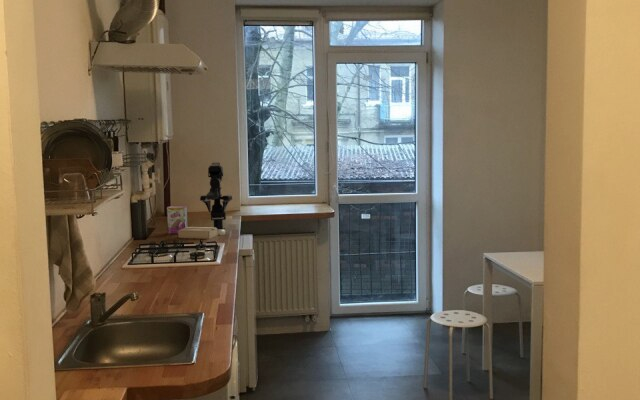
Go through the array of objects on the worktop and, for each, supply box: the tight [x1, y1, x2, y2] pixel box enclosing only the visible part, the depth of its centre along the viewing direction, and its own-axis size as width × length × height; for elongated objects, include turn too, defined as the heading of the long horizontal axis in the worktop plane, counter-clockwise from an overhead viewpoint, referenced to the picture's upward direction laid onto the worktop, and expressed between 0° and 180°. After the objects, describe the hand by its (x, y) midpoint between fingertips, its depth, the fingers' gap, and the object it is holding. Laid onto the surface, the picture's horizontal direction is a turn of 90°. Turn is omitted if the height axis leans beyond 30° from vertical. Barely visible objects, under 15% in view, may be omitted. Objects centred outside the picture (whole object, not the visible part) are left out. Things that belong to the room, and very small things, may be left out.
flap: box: [184, 226, 217, 229], centre depth 398 cm, size 5×19×1 cm, turn 73°
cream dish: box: [218, 229, 226, 236], centre depth 402 cm, size 7×7×2 cm
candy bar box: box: [166, 206, 188, 235], centre depth 408 cm, size 11×5×16 cm, turn 83°
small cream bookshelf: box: [177, 229, 219, 240], centre depth 395 cm, size 12×20×5 cm, turn 74°
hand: (216, 212), depth 403 cm, fingers open, 9 cm apart
